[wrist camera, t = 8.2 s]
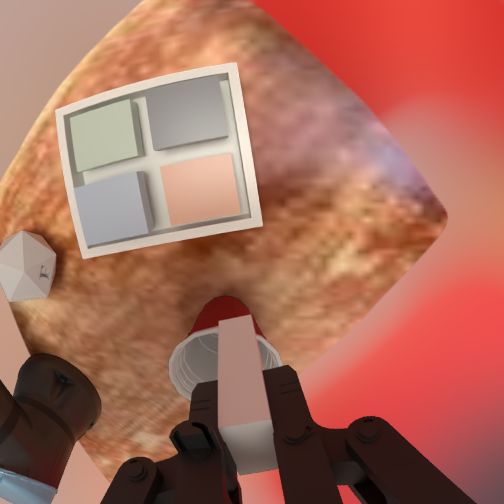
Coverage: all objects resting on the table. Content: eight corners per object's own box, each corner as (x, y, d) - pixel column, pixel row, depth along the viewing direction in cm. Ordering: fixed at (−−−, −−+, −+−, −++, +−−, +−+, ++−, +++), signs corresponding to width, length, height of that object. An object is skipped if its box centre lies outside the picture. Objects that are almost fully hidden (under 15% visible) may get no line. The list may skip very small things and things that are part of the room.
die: (48, 300, 37) (54, 317, 29) (-8, 286, 31) (-17, 300, 24) (60, 241, 38) (68, 243, 30) (4, 224, 32) (-3, 222, 25)
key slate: (96, 239, 31) (86, 246, 29) (83, 186, 30) (73, 188, 27) (154, 227, 32) (148, 233, 29) (143, 170, 30) (136, 171, 27)
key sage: (87, 171, 31) (77, 172, 28) (79, 120, 29) (69, 118, 26) (144, 155, 31) (137, 155, 28) (136, 103, 29) (129, 98, 27)
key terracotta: (175, 221, 33) (171, 226, 31) (164, 166, 31) (159, 166, 29) (239, 209, 33) (240, 213, 31) (230, 153, 32) (230, 153, 29)
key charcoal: (159, 151, 29) (153, 150, 27) (150, 95, 28) (144, 90, 25) (228, 137, 30) (228, 135, 27) (219, 81, 28) (218, 74, 25)
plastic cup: (174, 342, 39) (160, 404, 28) (192, 267, 37) (178, 314, 25) (254, 360, 41) (263, 423, 29) (279, 289, 38) (301, 341, 27)
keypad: (95, 249, 35) (82, 259, 31) (70, 114, 30) (55, 110, 26) (259, 219, 36) (263, 226, 32) (235, 72, 31) (236, 62, 27)
